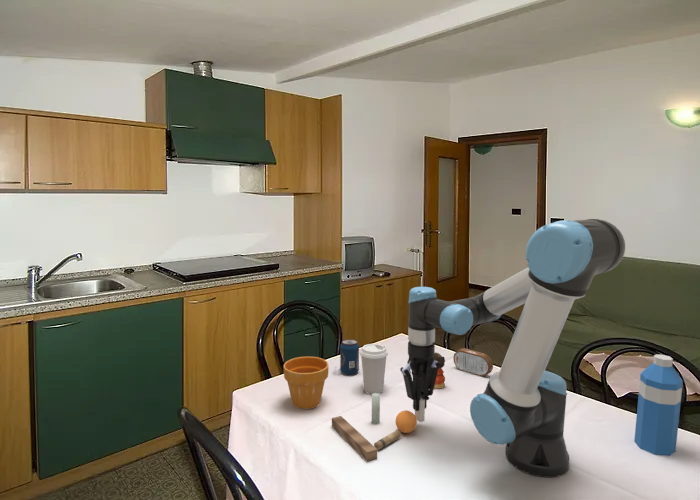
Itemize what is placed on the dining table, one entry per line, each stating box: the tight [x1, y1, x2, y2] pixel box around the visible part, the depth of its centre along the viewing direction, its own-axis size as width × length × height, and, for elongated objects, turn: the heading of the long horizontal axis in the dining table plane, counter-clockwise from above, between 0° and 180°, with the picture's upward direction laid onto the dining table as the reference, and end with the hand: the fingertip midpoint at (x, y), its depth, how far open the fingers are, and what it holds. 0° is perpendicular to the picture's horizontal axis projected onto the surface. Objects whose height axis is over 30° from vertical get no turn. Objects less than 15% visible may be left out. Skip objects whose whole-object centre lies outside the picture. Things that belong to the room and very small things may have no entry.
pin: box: [373, 429, 402, 451], centre depth 128 cm, size 2×2×9 cm
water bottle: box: [633, 353, 684, 457], centre depth 125 cm, size 9×9×25 cm
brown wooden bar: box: [331, 415, 378, 462], centre depth 129 cm, size 20×3×2 cm, turn 29°
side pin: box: [371, 393, 381, 425], centre depth 139 cm, size 2×2×8 cm
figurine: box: [433, 352, 446, 390], centre depth 163 cm, size 6×6×12 cm
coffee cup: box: [359, 343, 389, 395], centre depth 160 cm, size 10×10×15 cm
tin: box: [453, 347, 494, 377], centre depth 175 cm, size 15×3×8 cm, turn 49°
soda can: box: [339, 338, 360, 376], centre depth 175 cm, size 7×7×12 cm
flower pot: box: [283, 356, 329, 410], centre depth 151 cm, size 14×14×13 cm
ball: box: [395, 410, 418, 434], centre depth 134 cm, size 6×6×6 cm
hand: (419, 419), depth 137 cm, fingers closed
